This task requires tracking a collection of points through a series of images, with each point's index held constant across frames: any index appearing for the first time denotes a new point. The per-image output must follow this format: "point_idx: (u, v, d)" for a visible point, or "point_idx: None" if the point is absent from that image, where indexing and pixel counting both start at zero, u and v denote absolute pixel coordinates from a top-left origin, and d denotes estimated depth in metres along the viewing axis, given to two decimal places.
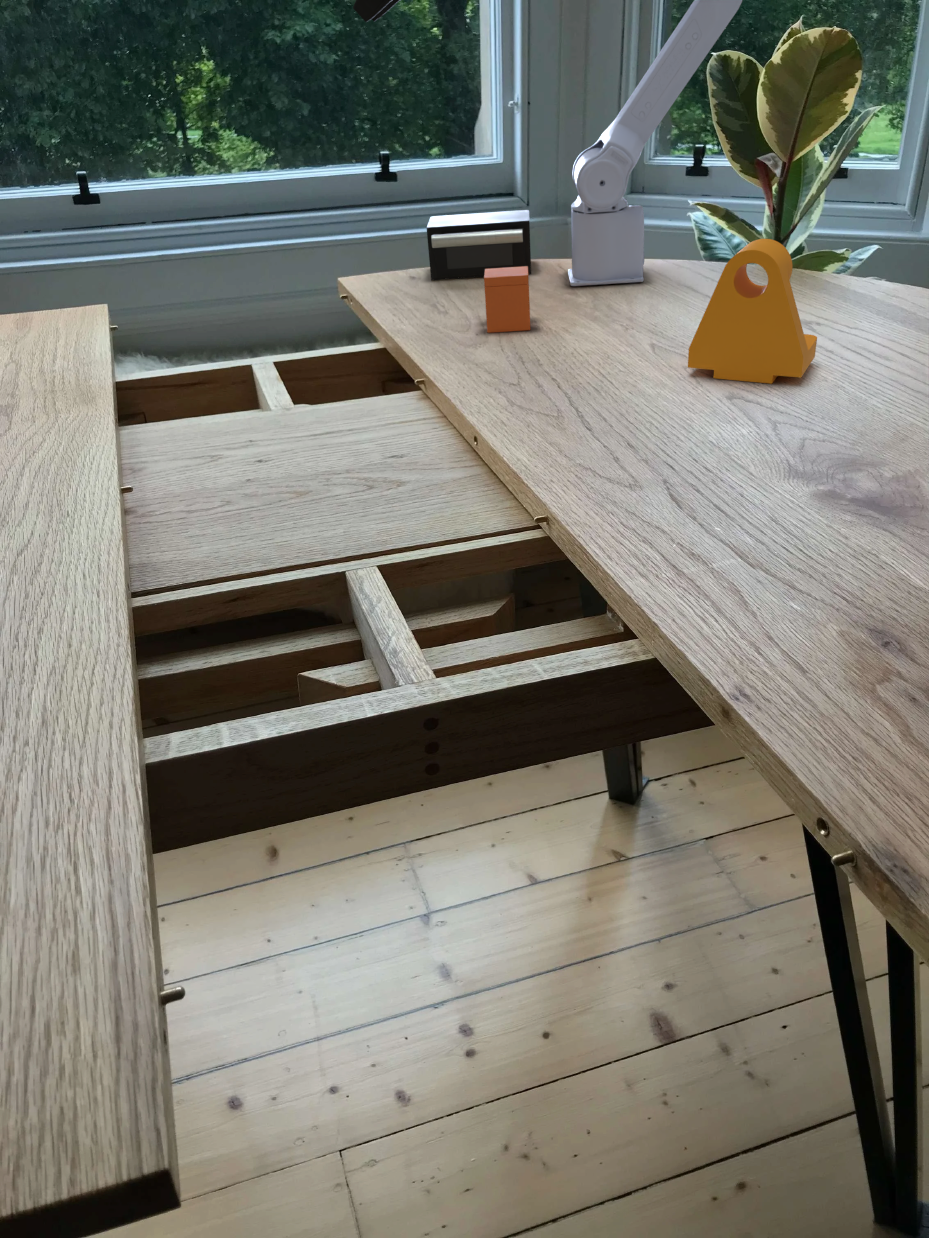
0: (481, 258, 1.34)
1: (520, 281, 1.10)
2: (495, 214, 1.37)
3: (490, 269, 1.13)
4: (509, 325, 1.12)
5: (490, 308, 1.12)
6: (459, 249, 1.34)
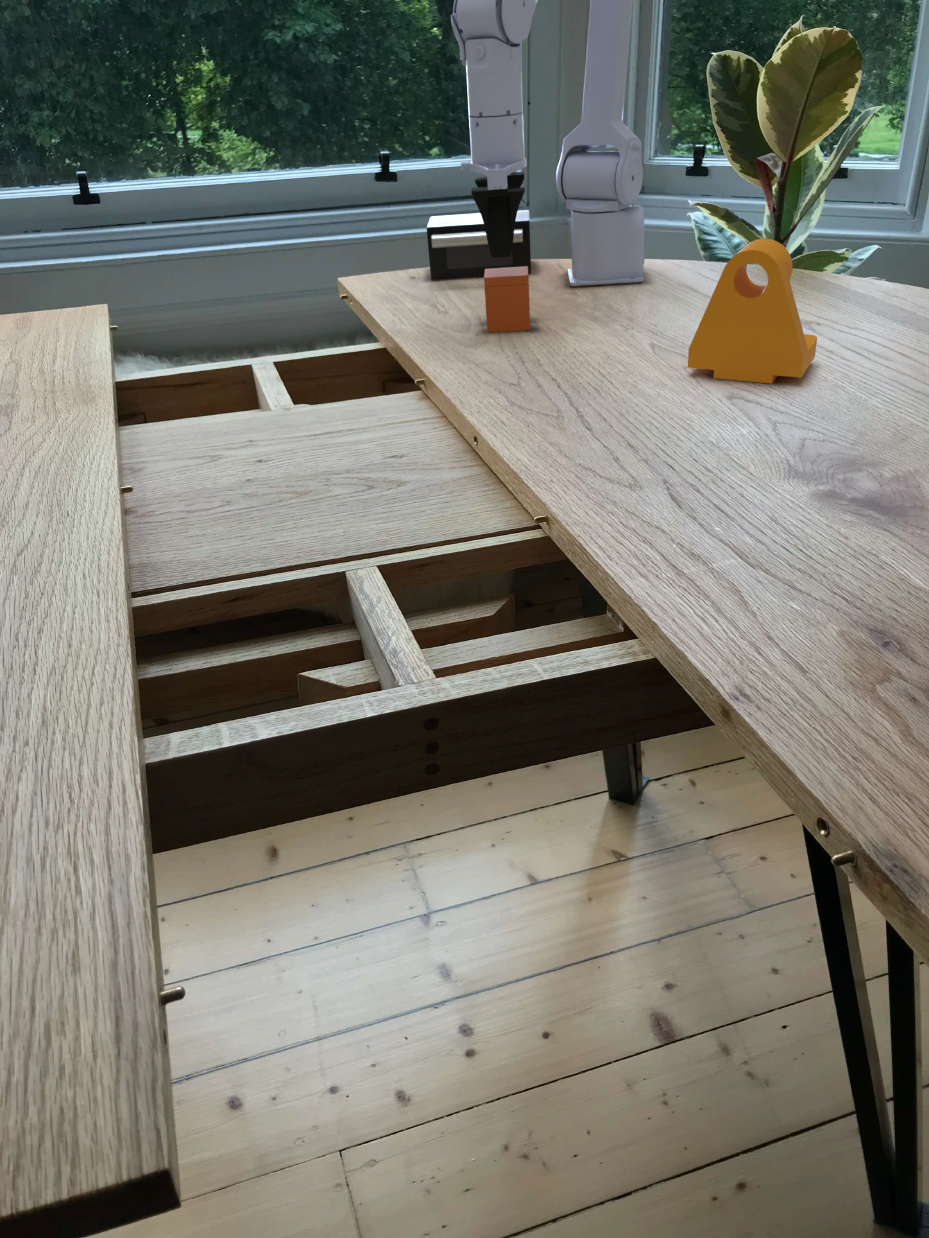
0: (481, 258, 1.34)
1: (520, 281, 1.10)
2: None
3: (490, 269, 1.13)
4: (509, 325, 1.12)
5: (490, 308, 1.12)
6: (459, 249, 1.34)
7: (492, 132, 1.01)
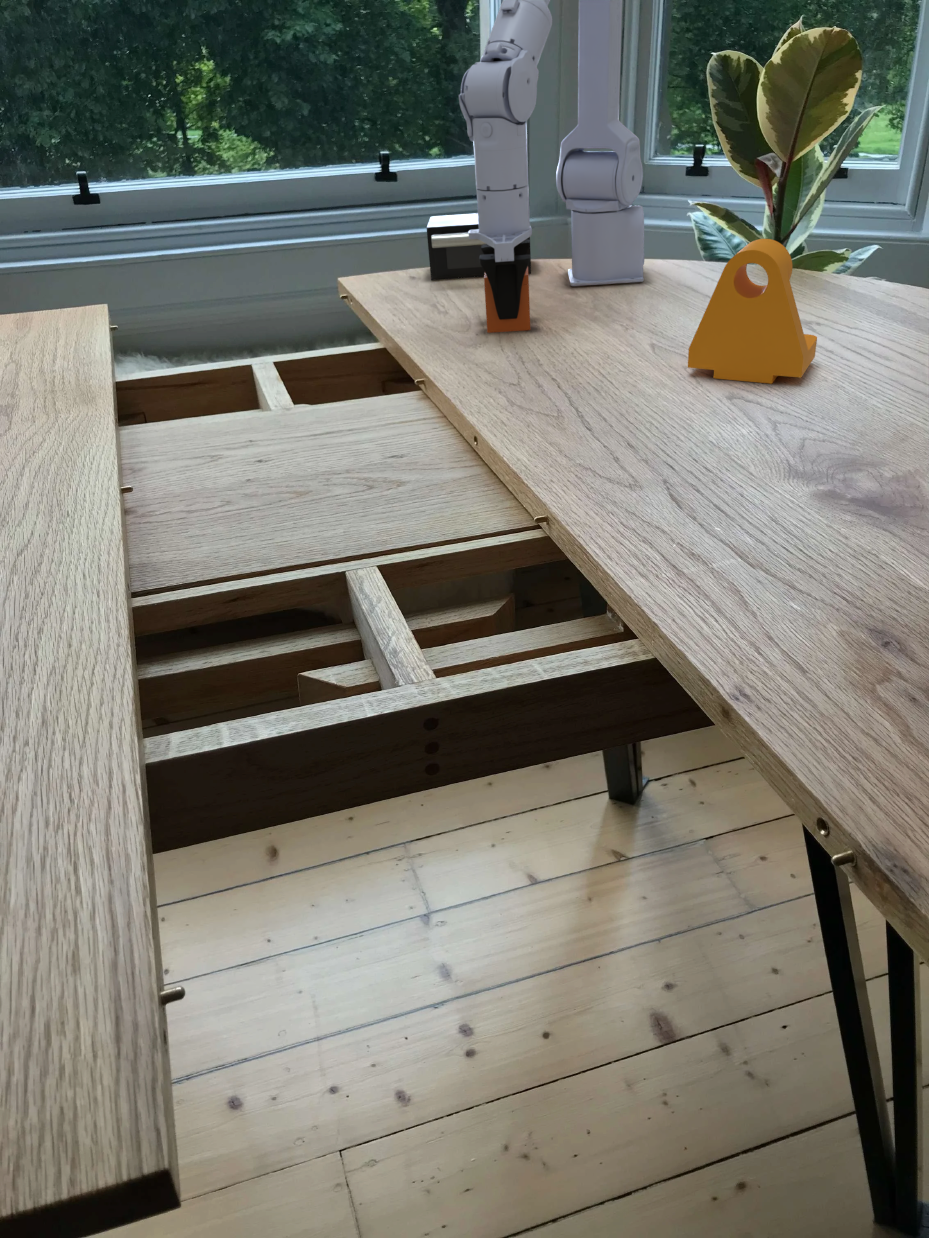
0: None
1: None
2: None
3: None
4: (509, 325, 1.12)
5: (490, 308, 1.11)
6: (459, 249, 1.34)
7: (499, 205, 1.05)
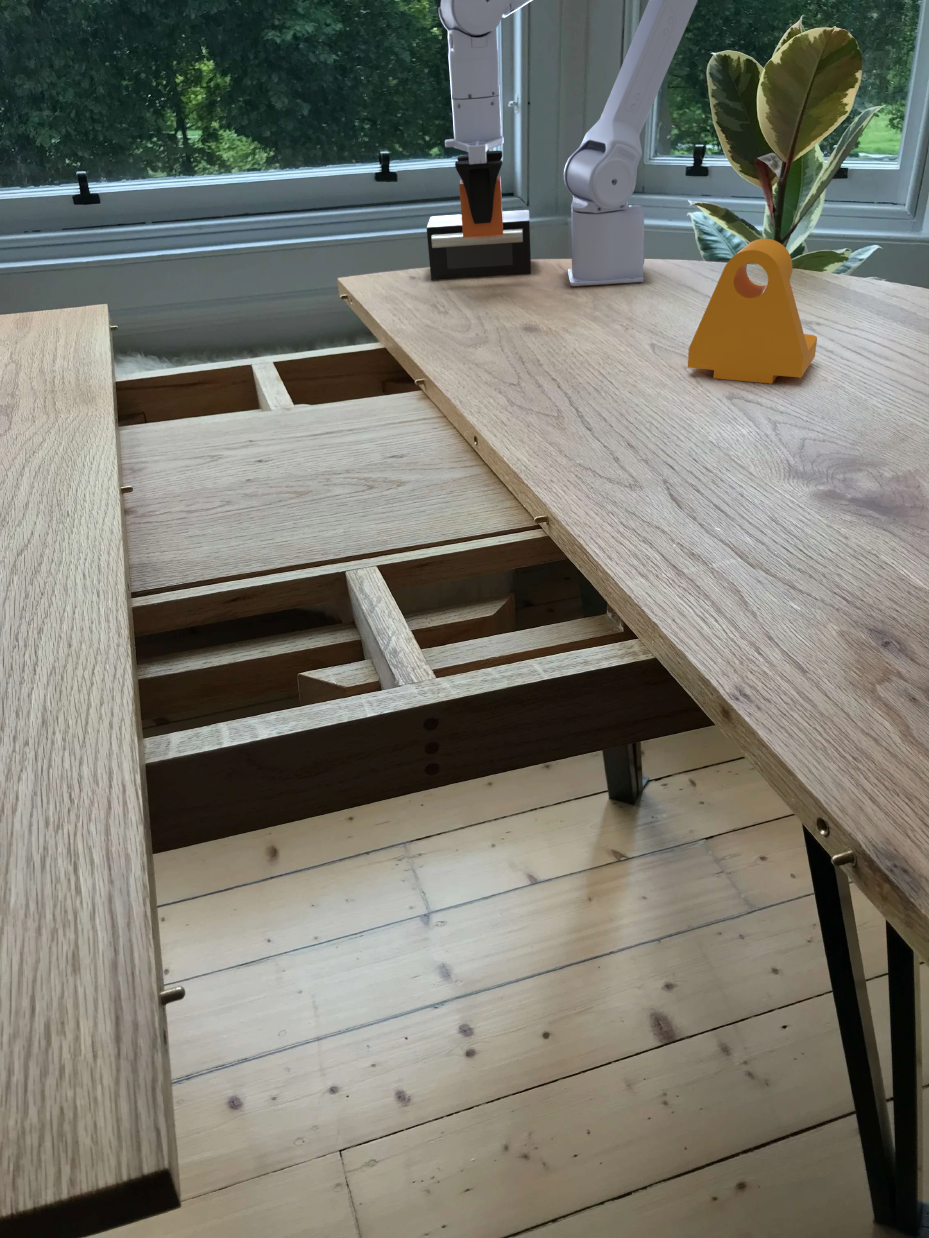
0: (481, 258, 1.34)
1: None
2: None
3: None
4: (483, 229, 1.21)
5: (465, 213, 1.20)
6: (459, 249, 1.34)
7: (472, 113, 1.14)
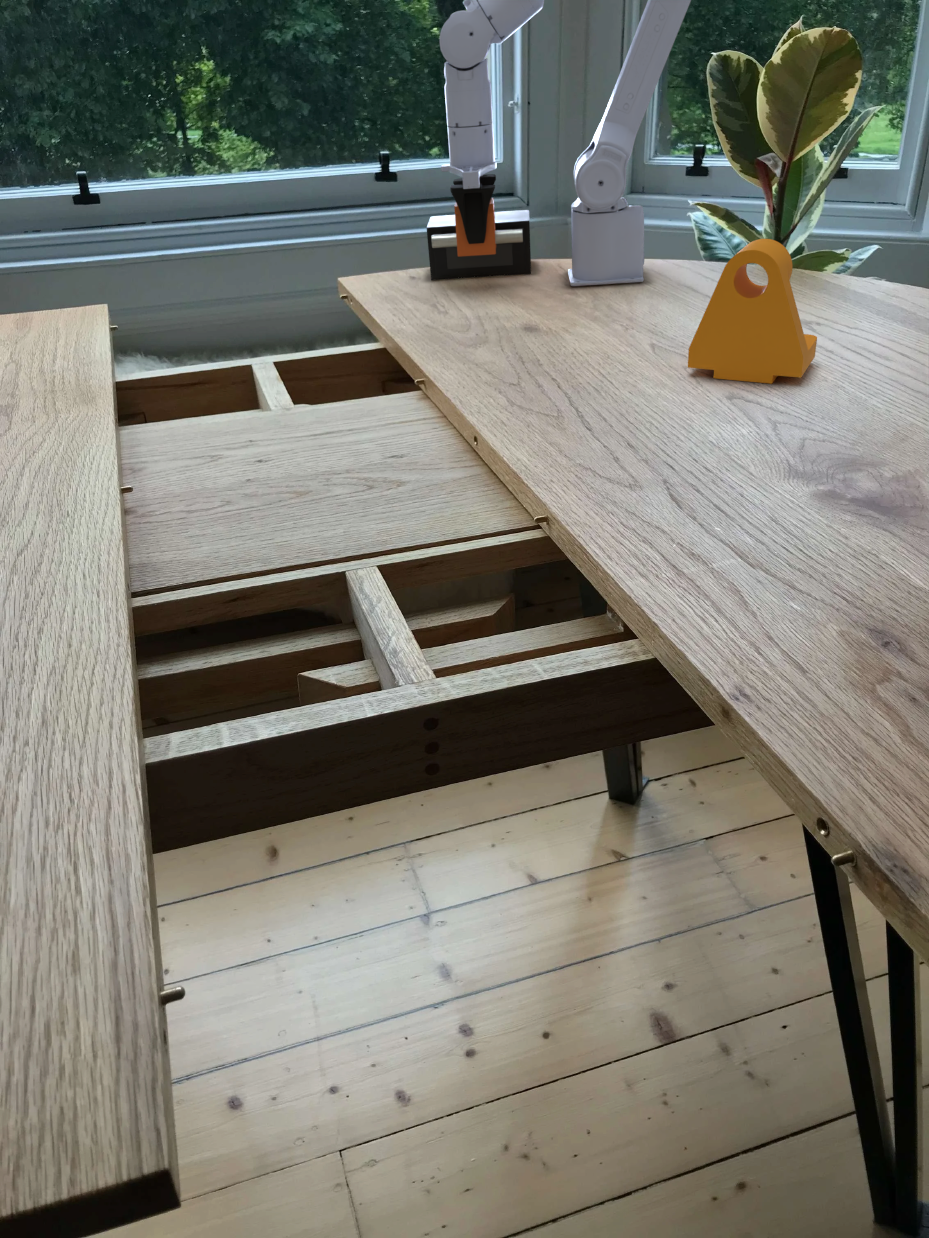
0: (481, 258, 1.34)
1: None
2: (495, 214, 1.37)
3: None
4: (477, 249, 1.28)
5: (460, 234, 1.27)
6: None
7: (467, 140, 1.20)
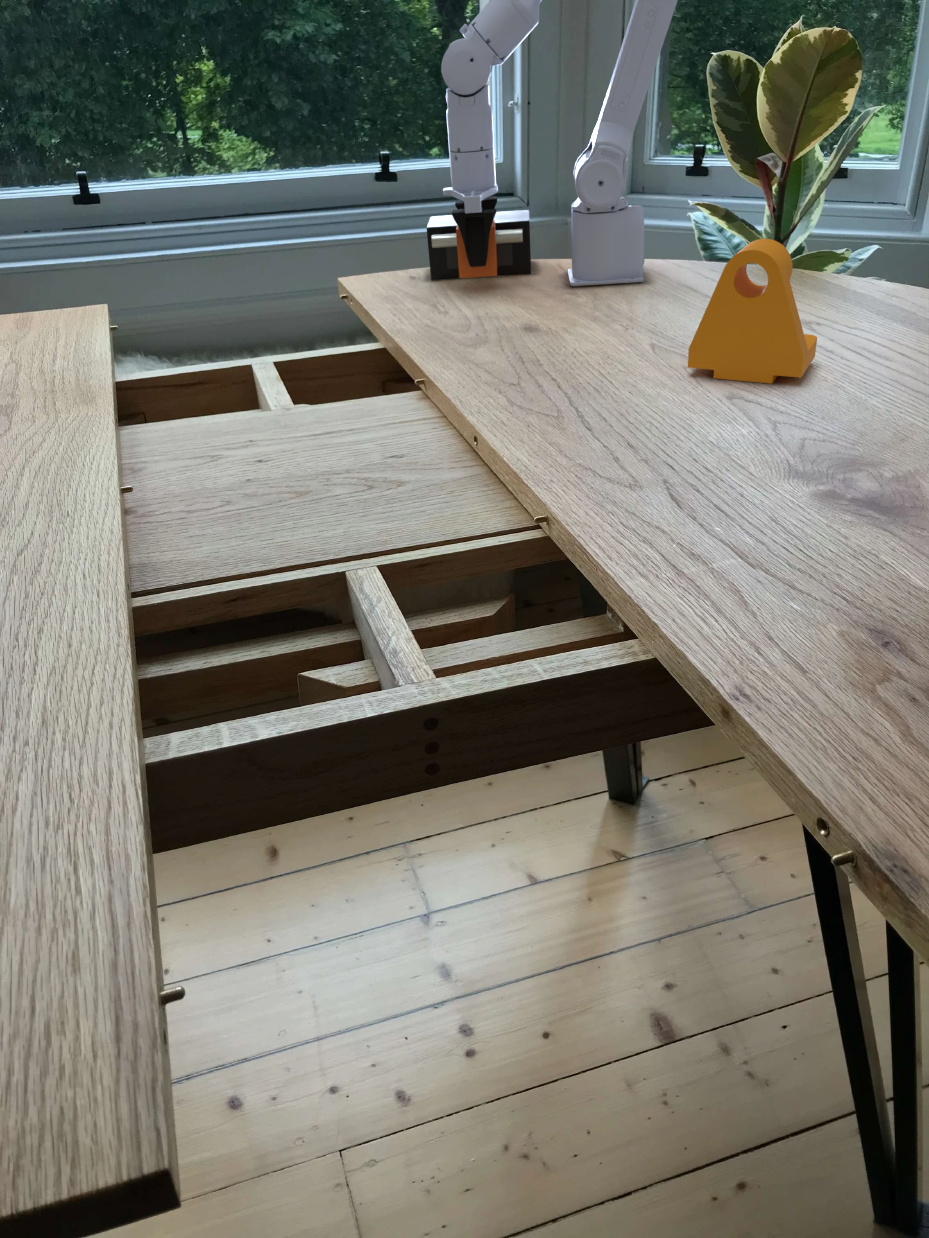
0: None
1: None
2: (495, 214, 1.37)
3: None
4: (478, 271, 1.29)
5: (461, 256, 1.28)
6: None
7: (468, 165, 1.22)
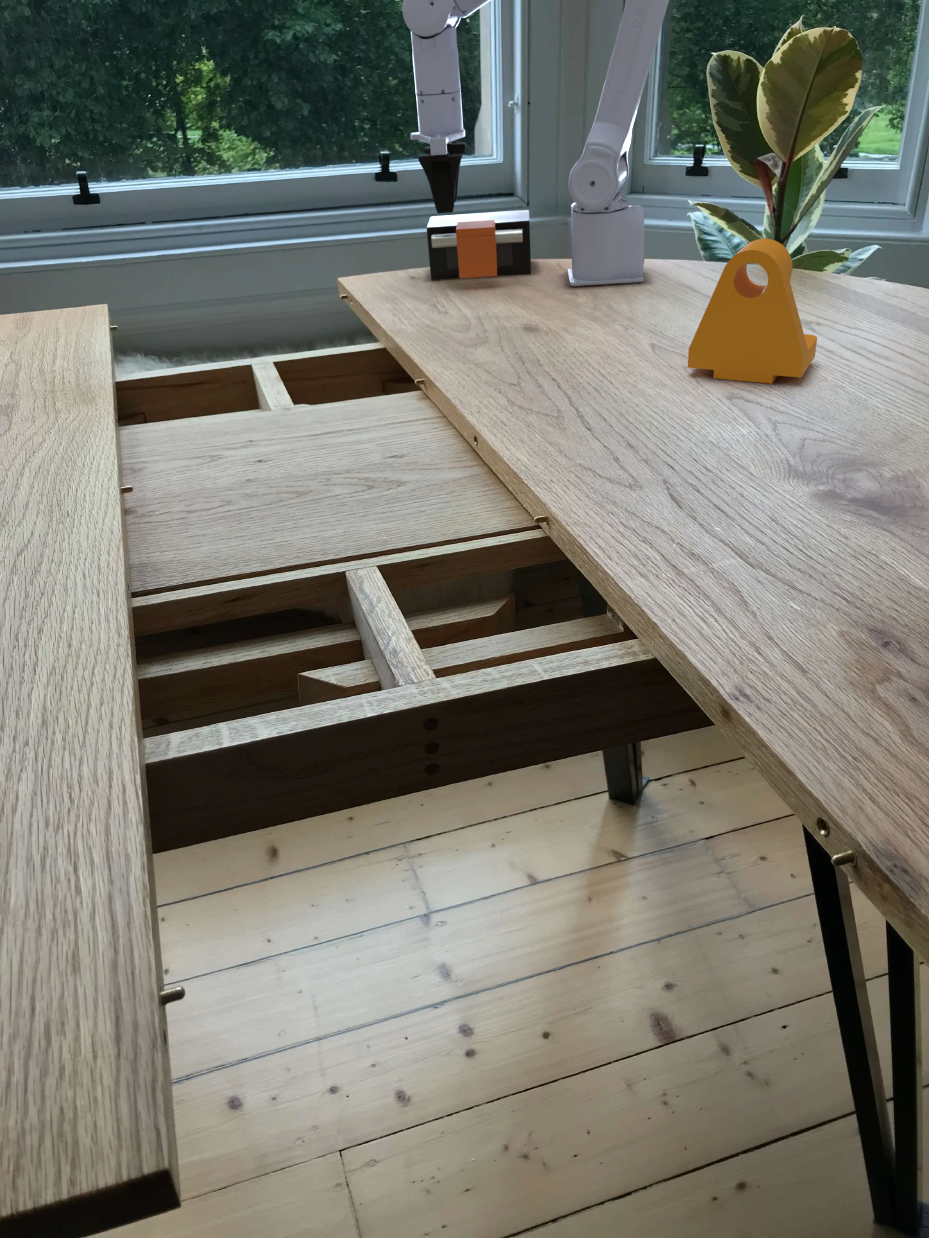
0: None
1: (487, 232, 1.26)
2: (495, 214, 1.37)
3: (462, 222, 1.30)
4: (478, 271, 1.29)
5: (461, 256, 1.28)
6: None
7: (434, 108, 1.23)
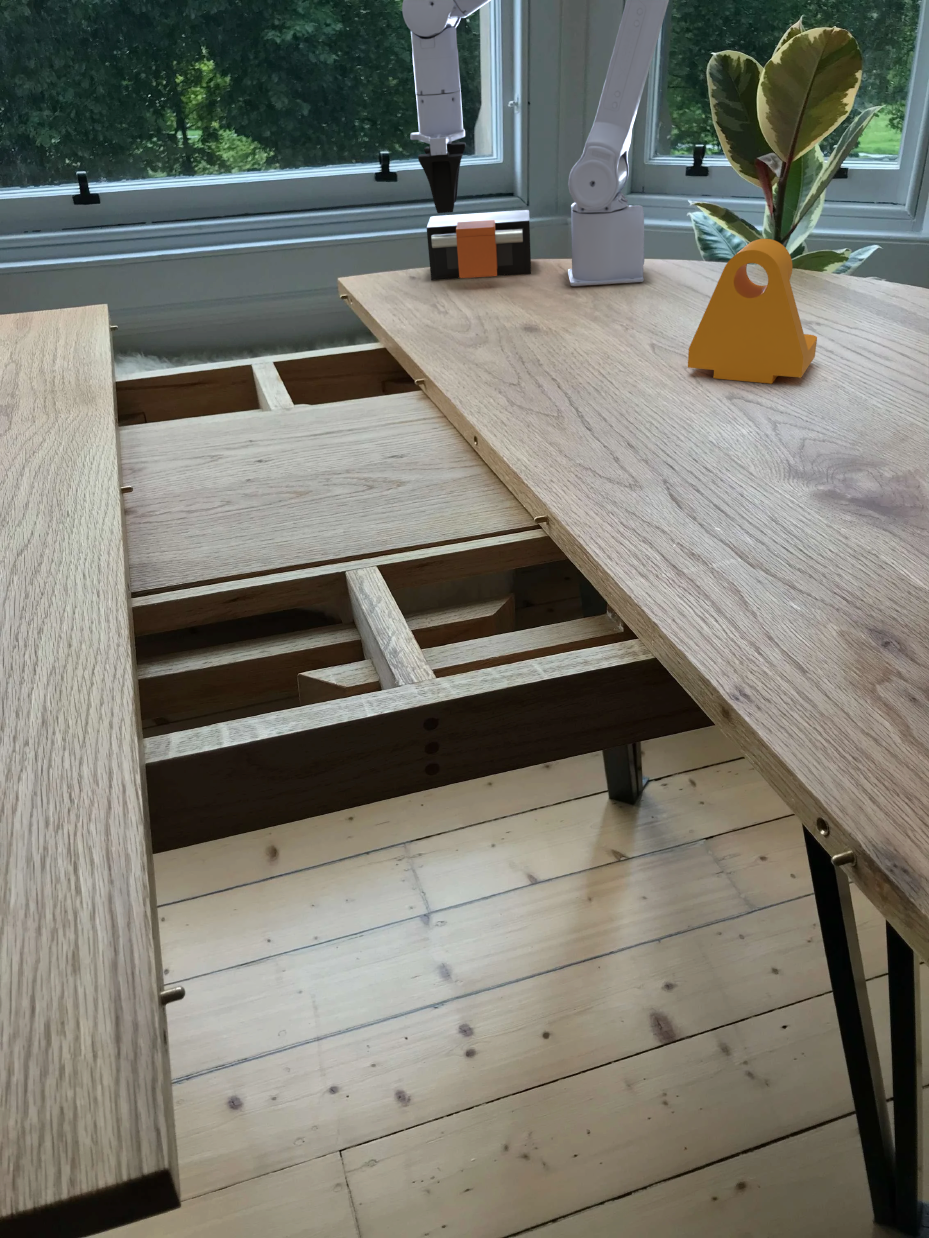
0: None
1: (487, 232, 1.26)
2: (495, 214, 1.37)
3: (462, 222, 1.30)
4: (478, 271, 1.29)
5: (461, 256, 1.28)
6: None
7: (434, 108, 1.23)
